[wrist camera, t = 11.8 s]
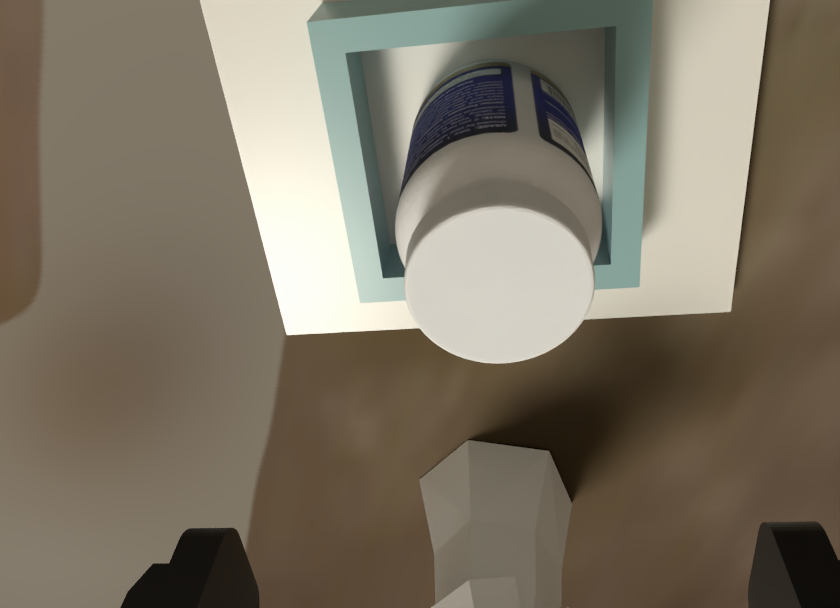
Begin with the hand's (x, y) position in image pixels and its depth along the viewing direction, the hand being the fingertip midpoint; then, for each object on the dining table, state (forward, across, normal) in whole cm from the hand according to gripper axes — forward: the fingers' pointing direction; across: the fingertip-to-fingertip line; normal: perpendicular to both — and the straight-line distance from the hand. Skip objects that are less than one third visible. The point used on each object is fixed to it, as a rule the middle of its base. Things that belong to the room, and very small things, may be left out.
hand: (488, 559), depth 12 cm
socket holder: (+19, 0, 0) cm, 19 cm away
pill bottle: (+18, 0, 0) cm, 18 cm away
